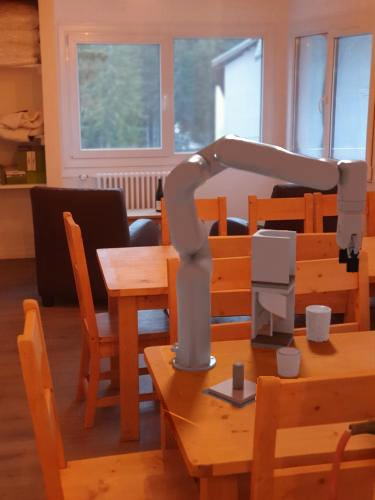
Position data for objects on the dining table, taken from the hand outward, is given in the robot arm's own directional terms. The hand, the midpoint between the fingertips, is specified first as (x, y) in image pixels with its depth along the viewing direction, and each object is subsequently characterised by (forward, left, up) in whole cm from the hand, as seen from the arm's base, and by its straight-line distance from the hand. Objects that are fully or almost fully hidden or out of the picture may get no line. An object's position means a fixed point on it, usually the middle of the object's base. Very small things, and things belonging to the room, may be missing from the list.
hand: (348, 267), depth 193 cm
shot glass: (-9, -13, -30) cm, 34 cm away
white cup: (-20, +16, -30) cm, 40 cm away
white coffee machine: (-28, +4, -30) cm, 42 cm away
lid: (-11, -32, -30) cm, 45 cm away
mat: (-11, -32, -30) cm, 46 cm away
